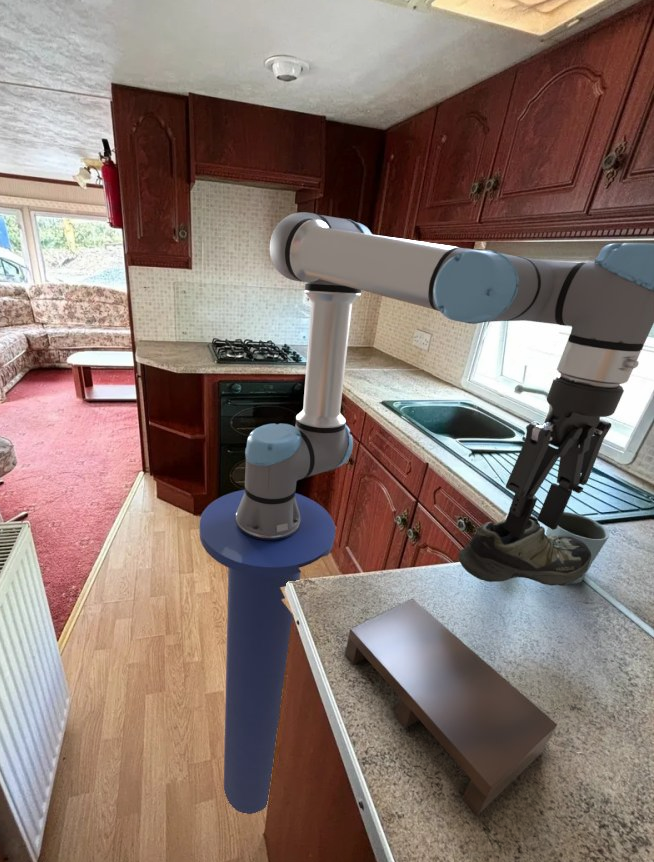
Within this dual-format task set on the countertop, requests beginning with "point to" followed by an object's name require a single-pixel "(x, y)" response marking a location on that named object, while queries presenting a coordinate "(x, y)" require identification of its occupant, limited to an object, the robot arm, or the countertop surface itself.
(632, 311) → the robot arm
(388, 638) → the shoe shelf
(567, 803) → the countertop surface
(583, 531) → the embossed plant pot
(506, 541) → the hiking shoe
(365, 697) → the countertop surface
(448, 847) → the countertop surface
